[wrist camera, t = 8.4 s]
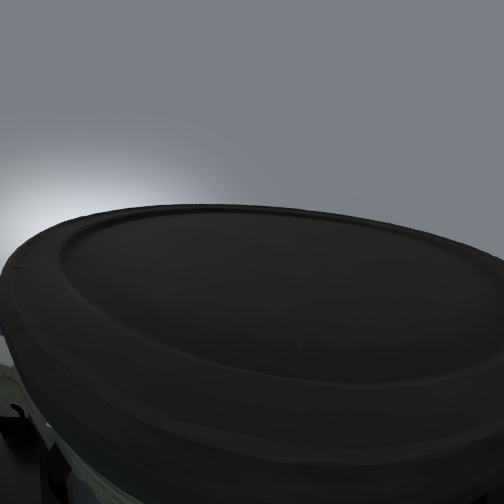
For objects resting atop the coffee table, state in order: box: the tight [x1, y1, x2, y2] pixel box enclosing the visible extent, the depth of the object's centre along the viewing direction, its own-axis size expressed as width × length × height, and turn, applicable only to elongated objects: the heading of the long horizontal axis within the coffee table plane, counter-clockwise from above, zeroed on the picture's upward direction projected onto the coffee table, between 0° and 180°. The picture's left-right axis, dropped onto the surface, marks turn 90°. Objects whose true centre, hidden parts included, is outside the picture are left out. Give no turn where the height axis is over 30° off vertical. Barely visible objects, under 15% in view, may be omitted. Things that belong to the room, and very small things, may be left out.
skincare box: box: [0, 335, 38, 417], centre depth 20 cm, size 6×4×12 cm
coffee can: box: [0, 204, 504, 504], centre depth 7 cm, size 10×10×14 cm
